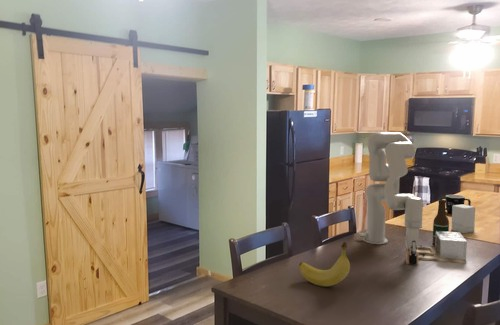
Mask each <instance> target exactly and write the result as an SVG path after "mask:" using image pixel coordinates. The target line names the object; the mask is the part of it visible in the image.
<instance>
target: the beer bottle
mask: <svg viewBox="0 0 500 325" xmlns="http://www.w3.org/2000/svg"><path fill="white" fill-rule="evenodd" d="M437 202H438V206H437V214H436V215H435V217H434V219H433V223H432V224H433V225H432V245H435V242H436V231H446V232H450V230H449V229H450V221H449V217H448V216H447V214H446V212H447V211H446V210H445V208H446V200H445V199H441V200H440V199H439V200H438V201H437Z"/></svg>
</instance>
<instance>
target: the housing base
mask: <svg viewBox="0 0 500 325" xmlns="http://www.w3.org/2000/svg"><path fill="white" fill-rule="evenodd" d="M418 251H419V258H418V260H421V261H424V260H425V261H437V262H447V263H458V264H459V263H461V264H467V259H466V260H460V259H448V258H440V249H438V248H435V247H434V246H433V247H432V246H422V244H420V245H418Z"/></svg>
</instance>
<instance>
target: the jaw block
mask: <svg viewBox="0 0 500 325" xmlns="http://www.w3.org/2000/svg"><path fill="white" fill-rule="evenodd" d="M405 248H406V249H405V263H406V264H408V265H410V264H409V255H410V249H409V248H408V249H407V247H405ZM411 251H412V250H411ZM416 253H417V264H416V265H417V266H418V265H419V259H418V258H419V251H418V249H417V250H416Z"/></svg>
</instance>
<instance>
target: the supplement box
mask: <svg viewBox="0 0 500 325" xmlns="http://www.w3.org/2000/svg"><path fill="white" fill-rule="evenodd" d="M475 220H476V207H475V206H472V205H471V206H468V204H464V205H463V204H461V205H453V206H452V214H451V230H452V231H453V232H460V233H461V234H466V233H468V232H469V233H474V232H475V226H476V225H475V224H476V222H475Z"/></svg>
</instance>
